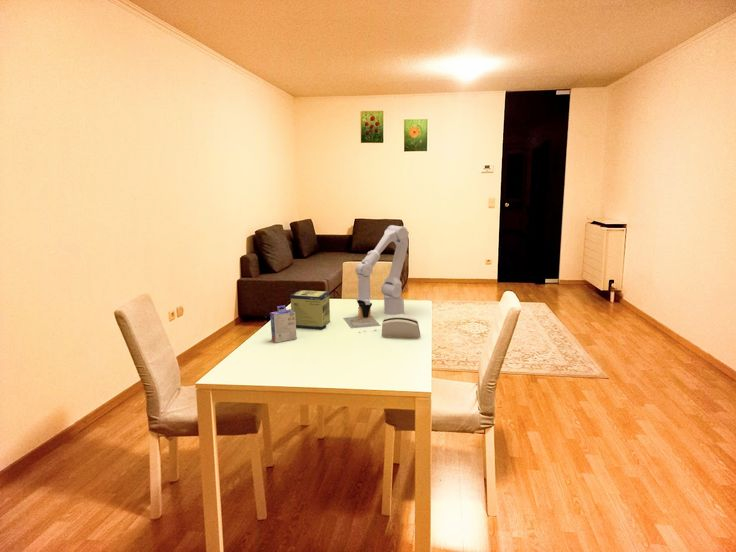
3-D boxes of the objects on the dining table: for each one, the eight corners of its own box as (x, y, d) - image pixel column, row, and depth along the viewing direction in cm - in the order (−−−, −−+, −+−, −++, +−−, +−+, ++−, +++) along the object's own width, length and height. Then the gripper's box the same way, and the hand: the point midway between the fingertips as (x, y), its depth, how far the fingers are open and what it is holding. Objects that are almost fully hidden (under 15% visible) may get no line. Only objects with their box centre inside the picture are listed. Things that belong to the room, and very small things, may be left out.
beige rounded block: (420, 334, 223) (420, 315, 218) (419, 340, 219) (419, 321, 214) (382, 332, 226) (381, 313, 221) (381, 339, 222) (379, 320, 217)
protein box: (323, 330, 231) (321, 296, 228) (291, 327, 236) (289, 294, 233) (330, 323, 241) (329, 291, 238) (300, 321, 246) (298, 289, 243)
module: (368, 316, 249) (368, 305, 248) (370, 318, 245) (370, 307, 244) (358, 317, 248) (358, 306, 247) (360, 319, 244) (360, 308, 243)
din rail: (373, 321, 241) (373, 317, 240) (376, 325, 234) (376, 321, 234) (350, 322, 238) (350, 319, 238) (353, 327, 232) (353, 323, 231)
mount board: (371, 317, 250) (371, 315, 250) (381, 327, 233) (380, 325, 233) (342, 319, 247) (342, 317, 247) (350, 330, 230) (350, 328, 230)
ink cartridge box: (292, 335, 224) (290, 303, 221) (297, 339, 219) (296, 306, 216) (270, 339, 219) (269, 306, 216) (275, 343, 214) (273, 309, 211)
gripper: (352, 285, 250) (353, 312, 252) (359, 292, 236) (359, 320, 238) (366, 284, 251) (367, 311, 254) (374, 291, 237) (374, 319, 240)
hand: (364, 315), depth 246 cm, fingers closed on module, 4 cm apart
